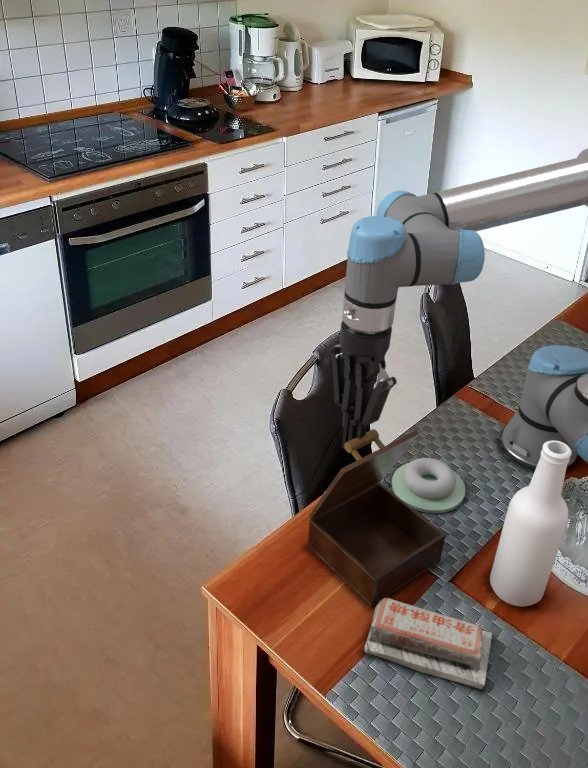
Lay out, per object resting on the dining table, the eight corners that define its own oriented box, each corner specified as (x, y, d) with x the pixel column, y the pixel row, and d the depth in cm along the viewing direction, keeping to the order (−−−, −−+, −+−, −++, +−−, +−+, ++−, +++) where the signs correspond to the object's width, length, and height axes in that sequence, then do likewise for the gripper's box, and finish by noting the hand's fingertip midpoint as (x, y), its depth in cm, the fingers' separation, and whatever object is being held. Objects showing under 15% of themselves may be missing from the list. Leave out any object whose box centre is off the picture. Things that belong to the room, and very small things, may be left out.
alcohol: (549, 581, 124) (596, 442, 107) (533, 617, 118) (580, 476, 101) (499, 559, 128) (536, 421, 111) (481, 593, 121) (517, 453, 104)
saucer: (473, 478, 145) (474, 475, 144) (451, 523, 134) (452, 520, 134) (406, 455, 150) (407, 452, 149) (380, 496, 140) (380, 493, 139)
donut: (463, 483, 143) (419, 460, 148) (466, 469, 141) (421, 446, 146) (437, 510, 136) (392, 485, 141) (440, 497, 134) (394, 472, 139)
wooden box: (440, 562, 127) (445, 534, 123) (371, 608, 118) (375, 580, 115) (375, 508, 137) (379, 481, 133) (307, 547, 129) (309, 519, 125)
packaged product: (365, 634, 108) (381, 584, 116) (362, 654, 111) (378, 604, 119) (489, 672, 104) (497, 617, 112) (483, 692, 107) (491, 637, 114)
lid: (419, 433, 120) (400, 409, 121) (344, 472, 111) (325, 446, 113) (380, 481, 133) (364, 459, 135) (310, 520, 124) (294, 495, 126)
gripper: (318, 310, 111) (308, 434, 124) (380, 350, 102) (362, 478, 115) (355, 298, 115) (341, 419, 128) (418, 335, 106) (396, 461, 119)
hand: (351, 447), depth 122 cm, fingers closed
